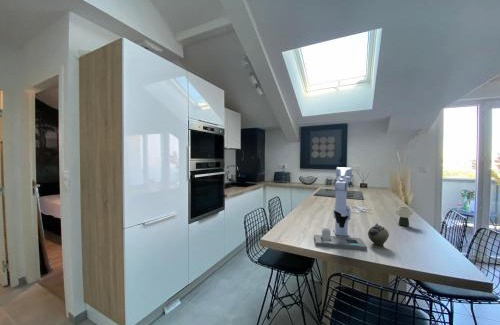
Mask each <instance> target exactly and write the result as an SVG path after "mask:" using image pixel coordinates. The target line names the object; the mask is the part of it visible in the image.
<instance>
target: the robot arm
mask: <svg viewBox="0 0 500 325" xmlns="http://www.w3.org/2000/svg"><path fill="white" fill-rule="evenodd" d="M335 176H336V181H335V182H334V192H335V202H334V204H335V205H334V207H333V209H332V211H333V219H334V220H335V221H334V229H333V232H334V234H335V236H340V237H351V236H350V234H349V232H348V231H349V221H350V220H351V213H352V212H351V208H350V207H349V206H348V205H347V198H348V196H347V194H348V193H347V192H348V184H349V182H351V181H352V180H353V179H352V176H353V168H352V167H351V166H350V167H344V166H343V167H341V166H340V167H339V166H337V167H336V169H335Z"/></svg>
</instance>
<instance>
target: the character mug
mask: <svg viewBox="0 0 500 325" xmlns="http://www.w3.org/2000/svg"><path fill="white" fill-rule="evenodd" d="M395 214H396V215H398V216H399V219H398V225H400V226H403V227H410V221H409V220H410V219H409V218H411V216H412V215H413V210H412V209H411V208H410V207H407V206H398V209H397V210H396V212H395Z"/></svg>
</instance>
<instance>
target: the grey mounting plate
mask: <svg viewBox="0 0 500 325" xmlns="http://www.w3.org/2000/svg"><path fill="white" fill-rule="evenodd" d="M313 238H314V243H315V246H316V247H323V248H324V247H325V248H333V249H334V248H336V249H343V250H344V249H345V250H355V251H368V246H367V245H366V243H365V242H364V241H363V239H361V238H359V237H351V236H340V235H330V241H322V234H314V235H313Z"/></svg>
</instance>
